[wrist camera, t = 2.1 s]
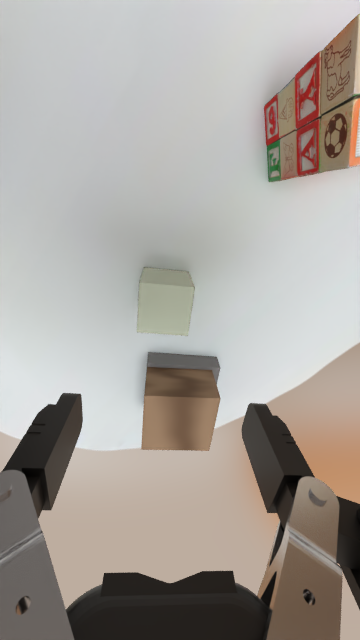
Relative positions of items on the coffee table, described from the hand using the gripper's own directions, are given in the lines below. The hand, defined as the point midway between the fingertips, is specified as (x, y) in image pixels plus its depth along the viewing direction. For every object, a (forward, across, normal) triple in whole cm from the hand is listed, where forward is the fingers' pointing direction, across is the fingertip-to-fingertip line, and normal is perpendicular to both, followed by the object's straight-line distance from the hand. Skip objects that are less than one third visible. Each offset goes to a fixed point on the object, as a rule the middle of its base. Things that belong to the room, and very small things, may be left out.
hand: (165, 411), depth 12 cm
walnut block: (+16, -3, +13) cm, 21 cm away
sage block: (+19, 0, 0) cm, 19 cm away
